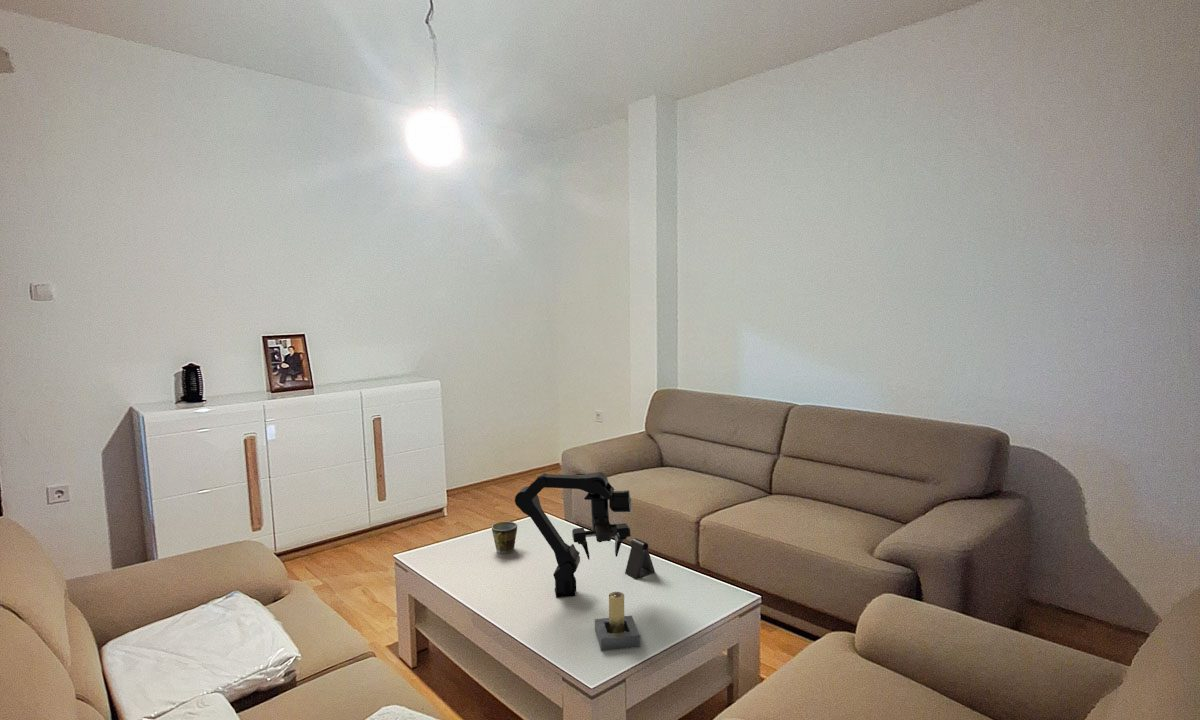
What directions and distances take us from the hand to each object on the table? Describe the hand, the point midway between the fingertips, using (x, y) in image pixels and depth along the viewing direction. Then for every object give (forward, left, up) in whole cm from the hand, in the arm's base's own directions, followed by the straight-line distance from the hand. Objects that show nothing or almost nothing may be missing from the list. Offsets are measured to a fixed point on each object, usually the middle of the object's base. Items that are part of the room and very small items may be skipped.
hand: (602, 557), depth 205 cm
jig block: (0, -27, -13) cm, 30 cm away
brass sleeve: (0, -27, -13) cm, 30 cm away
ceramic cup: (-32, +43, -13) cm, 55 cm away
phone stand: (+16, +14, -13) cm, 25 cm away
